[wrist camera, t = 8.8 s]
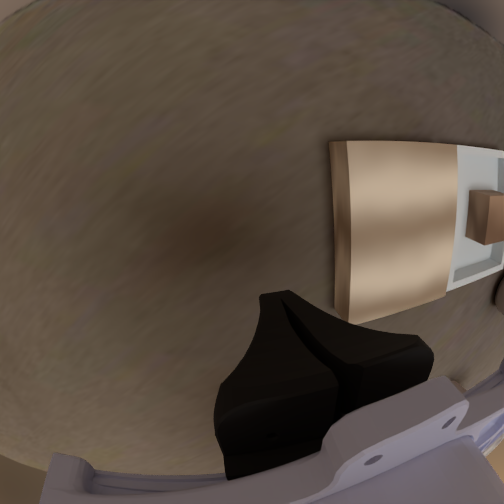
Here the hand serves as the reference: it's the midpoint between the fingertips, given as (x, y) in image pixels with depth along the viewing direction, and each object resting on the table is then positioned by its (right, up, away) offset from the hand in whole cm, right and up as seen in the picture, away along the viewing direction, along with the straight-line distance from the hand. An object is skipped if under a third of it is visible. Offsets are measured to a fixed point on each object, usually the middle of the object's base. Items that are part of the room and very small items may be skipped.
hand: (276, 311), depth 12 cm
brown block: (+24, +6, +8) cm, 26 cm away
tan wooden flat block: (+11, +5, +10) cm, 15 cm away
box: (+23, +7, +11) cm, 26 cm away
